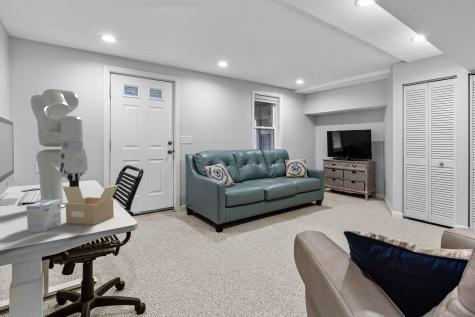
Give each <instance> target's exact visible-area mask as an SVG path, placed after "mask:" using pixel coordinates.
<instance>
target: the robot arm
mask: <svg viewBox="0 0 475 317" xmlns="http://www.w3.org/2000/svg"><path fill="white" fill-rule="evenodd" d="M79 103H80V101H79V96H78V95H77V93H75V92H74V91H71V90H62V89H56V88H47V89H45V90H44V91H43V92H42V94H35V95H32V96H31V98H30V107H31V110H32V113H33V115H34V116H35V119H36V122H37V134H38V136H37V137H38V143H39V145H40V146H41V147H45V148H48V149H42V150H39V151H38V152H37V153H36V156H35V158H36V162H37V167H38V174H39V188H40V189H39V190H40V198H39V200H37V201H36V203H37V202H40V201H43V200H56V199H60V207H61V209H62V208H66V203H67V202H64V196H63V192H64V191H63V179H62V178H66V179H67V180H68V183H69V187H80V179H81V176H82V175H85V174H86V172H87V171H88V169H89V168H88V167H89V166H88V159H87V153H86V150H85V149H84V138H83V137H84V136H83V120H82V117H79V116H75V115H68V114H70V113H72V112H73V111H75V110H76V109H77V108H78V106H79ZM49 148H53V149H49ZM55 148H56V149H55ZM57 148H60V149H57ZM57 168H59V170H58V169H57Z"/></svg>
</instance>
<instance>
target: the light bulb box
mask: <svg viewBox="0 0 475 317" xmlns="http://www.w3.org/2000/svg"><path fill="white" fill-rule="evenodd" d="M25 208H26V222H27V223H26V224H27V232H28V233H44V232H45V233H46V232H47V231H48V230H51V229H52V228H54V227H57V226H58V225H60V224H62V211H61V210H62V208H61V207H60V199H56V200H43V201H40V202H37V201H36V202H35V203H32V204H29V205H26V206H25Z"/></svg>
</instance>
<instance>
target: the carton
mask: <svg viewBox="0 0 475 317" xmlns="http://www.w3.org/2000/svg"><path fill="white" fill-rule="evenodd" d="M83 199H84V202H85V204H76V203H68V202H65V203H66V206H65V218H66V220H65V222H66V224H68V225H70V224H71V225H81V226H96V225H99V224H101V223H104V222H106V221H108V220H111V219H113V218H114V217H115V215H114V212H115V211H114V198H113V197H112V198H111V199H109V200H106V201H103V202H100V203H97V202H98V201H99V199H100V197H93V196H92V197H90V196H89V197H88V196H87V197H86V196H85V197H83Z"/></svg>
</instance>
